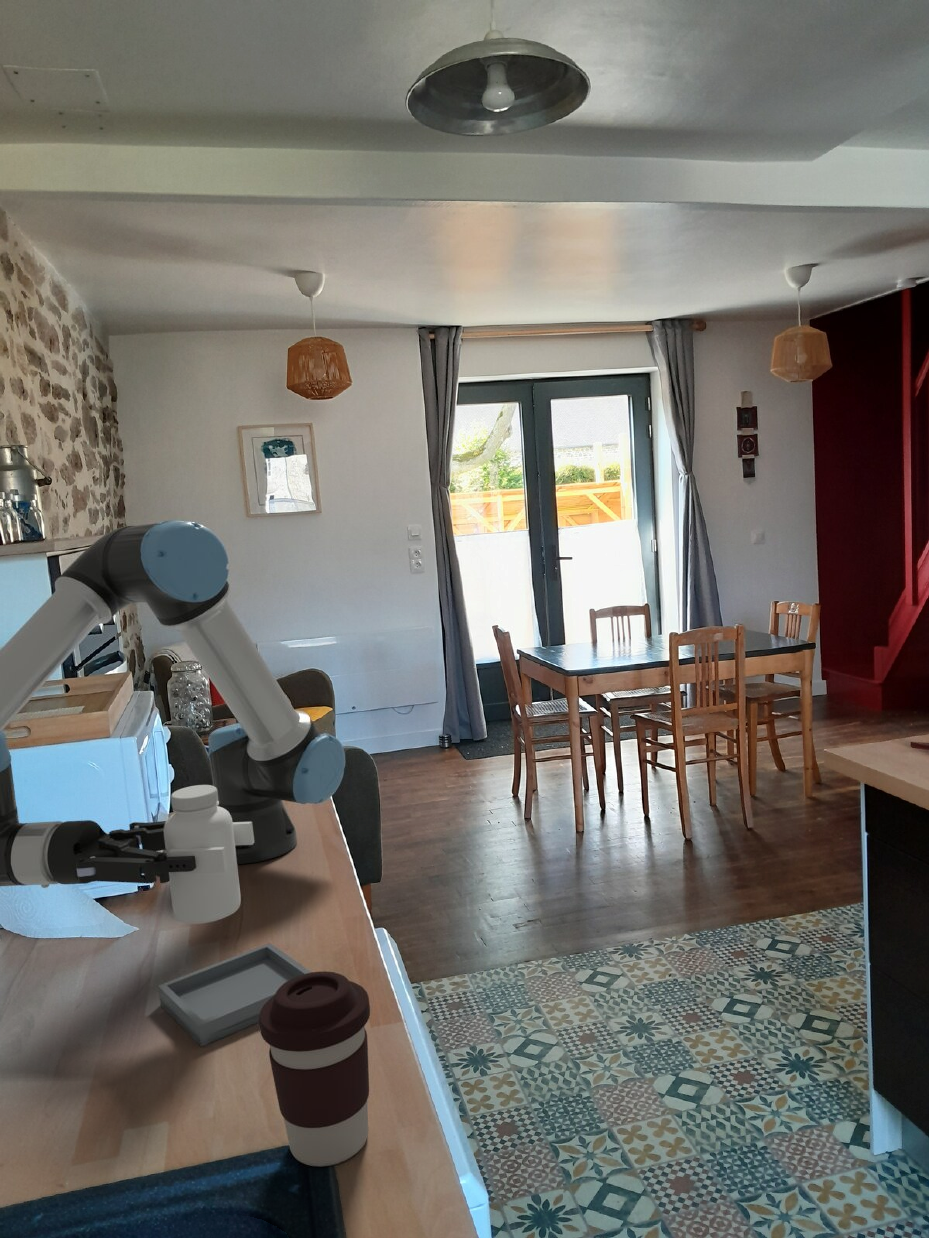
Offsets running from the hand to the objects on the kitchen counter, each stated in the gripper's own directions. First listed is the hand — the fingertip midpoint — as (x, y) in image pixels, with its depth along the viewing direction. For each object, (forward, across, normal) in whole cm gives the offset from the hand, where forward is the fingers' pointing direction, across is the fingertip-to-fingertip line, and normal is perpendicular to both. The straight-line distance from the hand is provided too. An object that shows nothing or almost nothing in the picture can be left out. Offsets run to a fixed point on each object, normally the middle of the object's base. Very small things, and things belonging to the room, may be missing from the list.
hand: (238, 845), depth 110 cm
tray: (-3, -1, -20) cm, 20 cm away
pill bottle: (-5, 0, -8) cm, 9 cm away
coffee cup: (+16, +25, -20) cm, 36 cm away
